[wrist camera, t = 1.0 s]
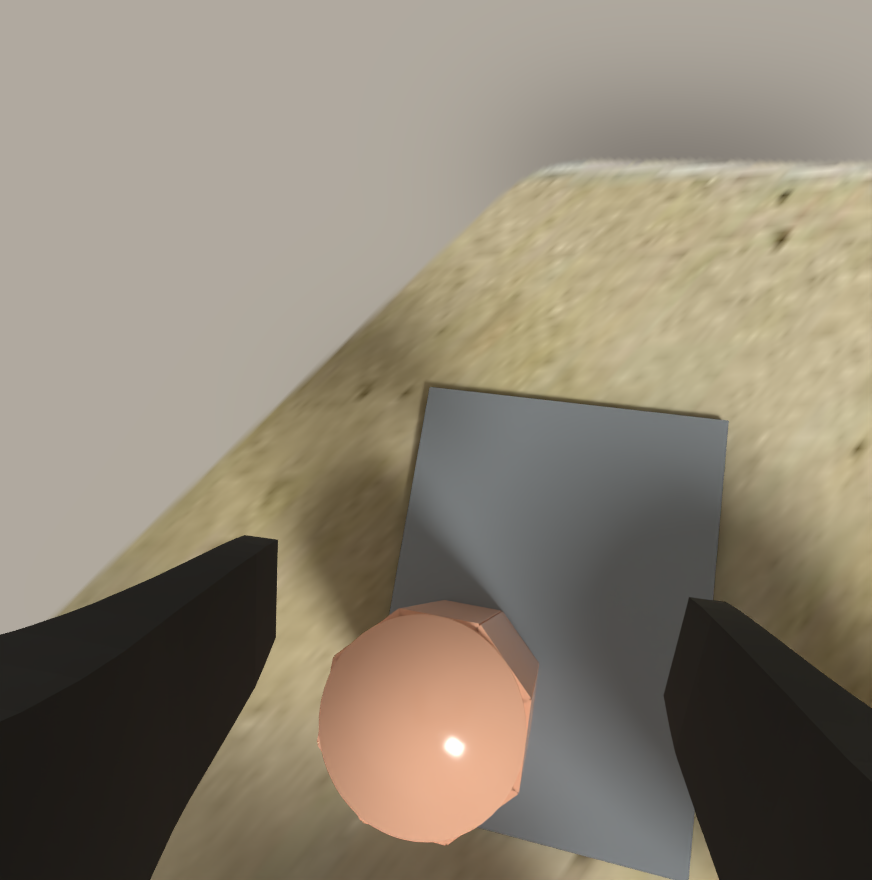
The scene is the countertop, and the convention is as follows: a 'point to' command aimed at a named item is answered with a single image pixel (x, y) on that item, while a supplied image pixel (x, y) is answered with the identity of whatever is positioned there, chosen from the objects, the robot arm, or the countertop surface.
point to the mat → (576, 596)
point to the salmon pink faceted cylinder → (429, 719)
